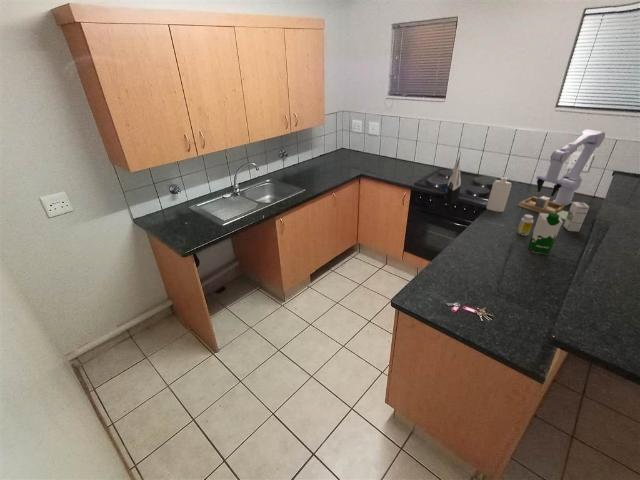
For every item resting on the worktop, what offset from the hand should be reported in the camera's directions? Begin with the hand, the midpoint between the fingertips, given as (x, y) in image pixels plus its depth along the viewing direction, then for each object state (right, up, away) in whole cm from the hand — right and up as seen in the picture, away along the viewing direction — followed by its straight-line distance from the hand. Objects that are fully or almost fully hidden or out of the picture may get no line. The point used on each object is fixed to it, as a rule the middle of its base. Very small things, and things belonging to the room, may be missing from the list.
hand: (545, 193), depth 190 cm
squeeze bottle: (-28, -9, +4) cm, 30 cm away
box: (0, -8, +5) cm, 9 cm away
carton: (0, -8, +5) cm, 9 cm away
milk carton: (-30, -33, -36) cm, 57 cm away
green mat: (+7, -13, -5) cm, 16 cm away
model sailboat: (-48, 0, +20) cm, 52 cm away
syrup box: (+1, -22, -18) cm, 28 cm away
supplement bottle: (-28, -24, -22) cm, 43 cm away
